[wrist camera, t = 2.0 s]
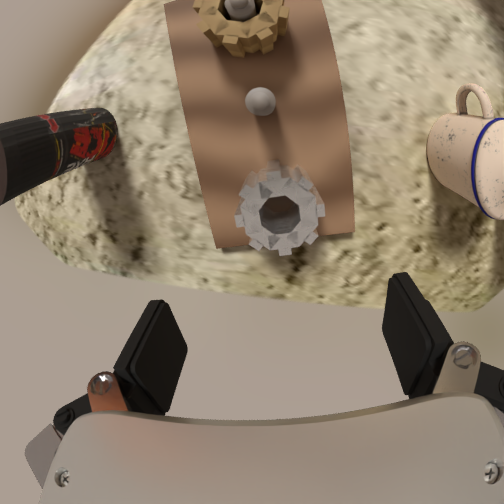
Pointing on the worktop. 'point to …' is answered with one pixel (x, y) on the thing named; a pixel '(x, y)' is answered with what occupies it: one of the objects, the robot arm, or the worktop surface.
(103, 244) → the worktop surface
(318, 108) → the gear board
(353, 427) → the robot arm
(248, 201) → the silver gear
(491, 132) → the teacup with lid
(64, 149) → the deodorant
